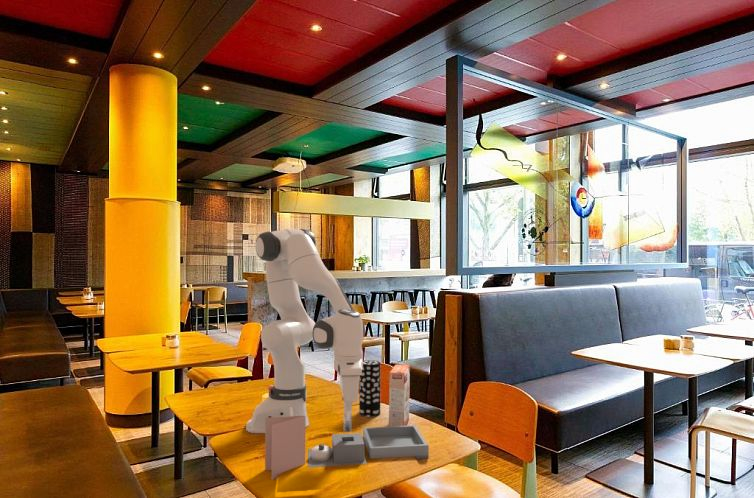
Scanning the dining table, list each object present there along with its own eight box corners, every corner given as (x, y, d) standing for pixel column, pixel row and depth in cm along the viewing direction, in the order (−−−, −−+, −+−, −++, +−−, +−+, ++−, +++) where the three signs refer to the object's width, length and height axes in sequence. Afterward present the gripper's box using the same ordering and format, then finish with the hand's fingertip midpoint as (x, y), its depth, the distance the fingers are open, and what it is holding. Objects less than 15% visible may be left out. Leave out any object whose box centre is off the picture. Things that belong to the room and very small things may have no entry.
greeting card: (305, 466, 141) (305, 414, 141) (305, 477, 134) (306, 423, 134) (265, 468, 139) (265, 416, 140) (263, 480, 132) (264, 425, 132)
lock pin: (341, 432, 145) (342, 399, 145) (341, 428, 148) (341, 395, 148) (353, 432, 145) (354, 399, 145) (352, 428, 149) (353, 395, 149)
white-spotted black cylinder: (361, 409, 194) (361, 360, 195) (381, 410, 193) (381, 360, 194) (357, 416, 186) (357, 364, 186) (378, 417, 185) (379, 365, 185)
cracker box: (405, 432, 169) (405, 372, 169) (388, 431, 170) (388, 372, 170) (410, 419, 182) (410, 364, 183) (394, 418, 184) (394, 363, 184)
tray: (370, 461, 144) (370, 448, 144) (363, 439, 162) (363, 427, 162) (428, 458, 147) (428, 445, 147) (415, 436, 165) (415, 425, 165)
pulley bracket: (308, 470, 138) (308, 449, 138) (307, 452, 151) (308, 433, 151) (366, 467, 140) (366, 446, 141) (361, 449, 153) (361, 430, 153)
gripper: (335, 356, 157) (335, 398, 156) (340, 371, 136) (339, 420, 136) (355, 356, 158) (354, 398, 157) (362, 370, 137) (361, 419, 137)
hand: (347, 408), depth 147 cm, fingers closed on lock pin, 2 cm apart
